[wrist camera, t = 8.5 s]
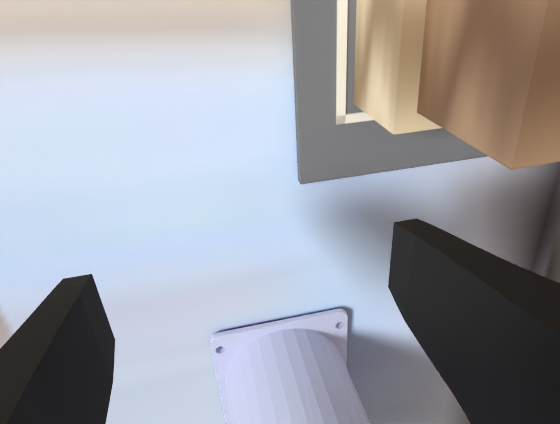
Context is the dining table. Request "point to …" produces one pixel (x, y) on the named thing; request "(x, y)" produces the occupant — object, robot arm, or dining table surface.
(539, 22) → the walnut block
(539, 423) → the robot arm
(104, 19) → the dining table surface
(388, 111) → the oak block
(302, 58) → the mat
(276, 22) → the dining table surface
